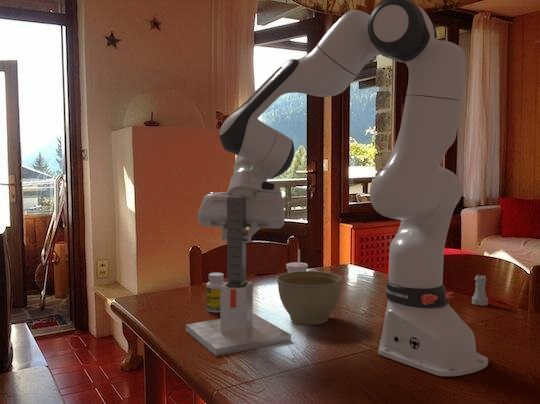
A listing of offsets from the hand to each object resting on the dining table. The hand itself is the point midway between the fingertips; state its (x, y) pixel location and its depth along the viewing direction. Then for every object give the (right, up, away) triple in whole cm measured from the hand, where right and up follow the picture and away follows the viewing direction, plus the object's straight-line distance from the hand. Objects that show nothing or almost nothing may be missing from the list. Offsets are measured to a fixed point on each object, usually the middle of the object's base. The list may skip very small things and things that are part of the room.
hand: (235, 239), depth 116 cm
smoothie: (+16, -20, +36) cm, 44 cm away
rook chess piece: (+66, -20, +29) cm, 75 cm away
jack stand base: (0, -22, +2) cm, 22 cm away
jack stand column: (0, -14, +2) cm, 14 cm away
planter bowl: (+17, -21, +14) cm, 31 cm away
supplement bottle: (-7, -21, +23) cm, 31 cm away
